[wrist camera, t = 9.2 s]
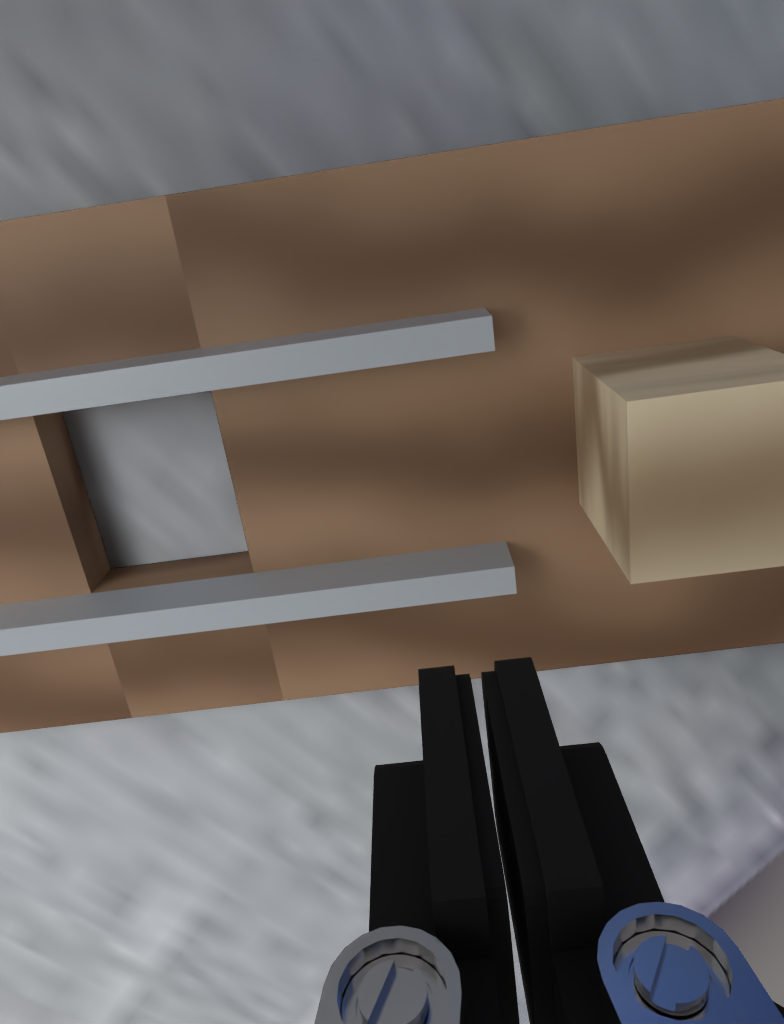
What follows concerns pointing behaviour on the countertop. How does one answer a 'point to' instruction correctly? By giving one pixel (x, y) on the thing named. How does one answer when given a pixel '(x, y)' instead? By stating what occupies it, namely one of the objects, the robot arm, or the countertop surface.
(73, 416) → the countertop surface
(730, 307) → the deck
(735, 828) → the countertop surface
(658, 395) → the block
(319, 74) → the countertop surface
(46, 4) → the countertop surface
